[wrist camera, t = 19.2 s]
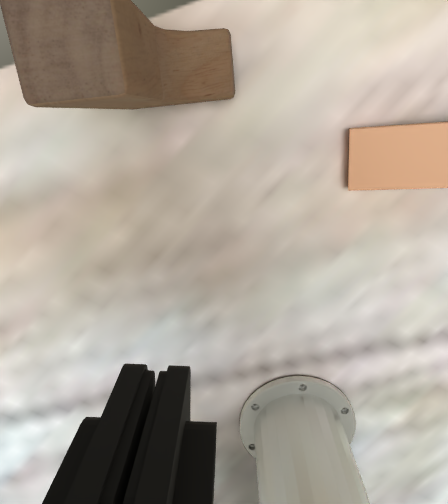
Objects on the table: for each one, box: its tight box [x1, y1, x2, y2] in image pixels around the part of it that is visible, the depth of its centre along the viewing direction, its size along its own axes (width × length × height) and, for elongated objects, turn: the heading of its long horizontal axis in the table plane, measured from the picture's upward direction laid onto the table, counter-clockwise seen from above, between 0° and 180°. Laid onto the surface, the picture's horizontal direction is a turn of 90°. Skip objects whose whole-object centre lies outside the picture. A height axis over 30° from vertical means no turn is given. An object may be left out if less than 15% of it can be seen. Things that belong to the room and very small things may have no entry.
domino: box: [348, 122, 448, 191], centre depth 32 cm, size 5×2×10 cm
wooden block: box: [0, 0, 235, 109], centre depth 24 cm, size 9×4×18 cm, turn 96°
